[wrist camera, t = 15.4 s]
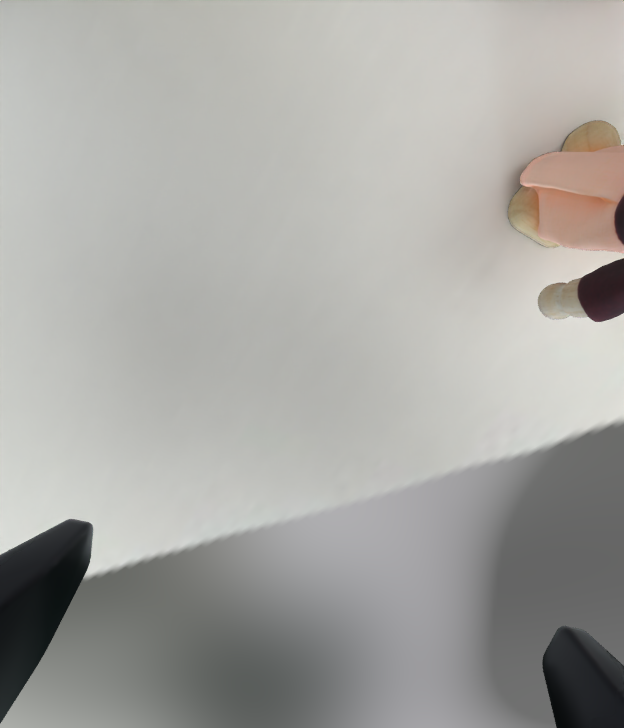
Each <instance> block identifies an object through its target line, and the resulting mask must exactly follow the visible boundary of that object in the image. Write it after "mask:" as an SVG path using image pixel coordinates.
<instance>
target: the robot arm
mask: <svg viewBox="0 0 624 728" xmlns="http://www.w3.org/2000/svg"><path fill="white" fill-rule="evenodd" d="M92 537H93V526H92V524H91V523H89V522H85V521H80V520H75V519H69V520H66V521H64V522H62V523H60V524H58V525H57V526H55V527H53V528H51V529H49V530H47V531H45V532H43V533H41V534H39V535H38V536H36V537H34V538H32V539H30V540H28V541H26V542H24V543H22V544H20V545H18V546H17V547H15V548H13V549H11V550H9V551H7V552H5V553H3V554H1V555H0V723H1V722H2V720H3V718H4V717H5V715H6V714H7V712H8V711H9V709H10V707H11V706H12V704H13V703H14V701H15V700H16V698H17V696H18V695H19V693H20V692H21V690H22V689H23V687H24V685H25V684H26V682H27V681H28V679H29V678H30V676H31V674H32V673H33V671H34V670H35V668H36V667H37V665H38V663H39V662H40V660H41V658H42V657H43V655H44V653H45V651H46V649H47V647H48V646H49V644H50V642H51V640H52V638H53V636H54V634H55V632H56V630H57V628H58V626H59V624H60V622H61V620H62V618H63V616H64V614H65V612H66V610H67V608H68V606H69V605H70V602H71V600H72V599H73V597H74V595H75V593H76V591H77V589H78V587H79V585H80V583H81V581H82V579H83V577H84V575H85V573H86V571H87V568H88V566H89V563H90V558H91V548H92ZM543 672H544V676H545V680H546V684H547V688H548V693H549V697H550V701H551V706H552V709H553V713H554V718H555V722H556V727H557V728H624V666H623V665H622V664H621V663H620V662H619V661H618V660H617V659H616V658H615V657H613V656H612V655H611V654H610V653H609V652H608V651H607V650H606V649H605V648H604V647H602V646H601V645H600V644H599V643H598V642H597V641H596V640H595V639H594V638H593V637H592V636H590V635H589V634H588V633H587V632H586V631H584V630H582V629H578V628H573V627H569V626H562V627H560V628H558V630H557V631H556V633H555V635H554V637H553V639H552V641H551V642H550V644H549V646H548V648H547V650H546V652H545V654H544V656H543Z"/></svg>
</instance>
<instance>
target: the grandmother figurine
mask: <svg viewBox="0 0 624 728" xmlns="http://www.w3.org/2000/svg"><path fill="white" fill-rule="evenodd" d="M520 183H521V185H523V186H522V187H521V188H520V189H519V190H518V192H517V193H516V194H515V195H514V196H513V198H512V200H511V202H510V204H509V209H508V218H509V220H510V222H511V224H512V226H513V227H514V228H515V229H516V230H518V231H519V232H521V233H522V234H524V235H526V236H527V237H529V238H531V239H533V240H534V241H536V242H538V243H539V244H541V245H543V246H545V247H550V248H555V247H558V246H560V245H562V246H564V247H567V248H574V249H581V250H593V251H599V250H601V251H612V252H620V253H624V145H621V142H620V138H619V135H618V132H617V130H616V128H615V127H613V126H612V125H611V124H609V123H607V122H605V121H591V122H588V123H585V124H583V125H582V126H580V127H579V128H577V129H576V130H574V131H573V132H572V133H571V134H570V135H569V136H568V137H567V139H566V141H565V143H564V145H563V148H562V152H551V153H546V154H544V155H541V156H539V157H537V158H535V159H534V160H532V161H531V162H530V163H529V164H528V166H527V167H526V168H525V169H524V171H523V173H522V174H521V177H520ZM538 306H539V309H540V311H541V312H542V314H543V315H544V316H546V317H548V318H550V319H556V320H558V319H564V318H567V317H569V316H572V317H577V318H582V317H589V318H590V319H592V320H593V321H595V322H602V321H605V320H609V319H612V318H614V317H617V316H619V315H621V314H623V313H624V259H620V260H617V261H614V262H612V263H610V264H608V265H605V266H602V267H600V268H598V269H597V270H595V271H593V272H592V273H589V274H587V275H585V276H584V277H582V278H579V279H575V280H572V281H570V282H569V283H556V284H551V285H549V286H547V287H545V288H544V289H543V290H542V292H541V293H540V295H539V297H538Z"/></svg>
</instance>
